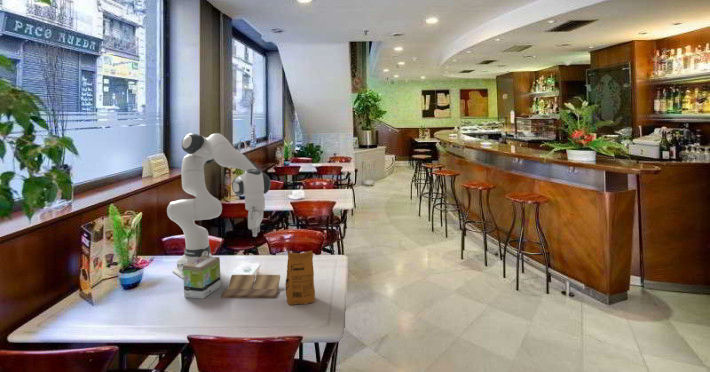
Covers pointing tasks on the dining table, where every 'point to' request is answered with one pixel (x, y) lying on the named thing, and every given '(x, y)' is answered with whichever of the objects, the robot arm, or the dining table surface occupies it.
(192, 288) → the tea box
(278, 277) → the plank
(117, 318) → the dining table surface
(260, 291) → the floor strip
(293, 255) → the coffee package
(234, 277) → the plank
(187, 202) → the robot arm
